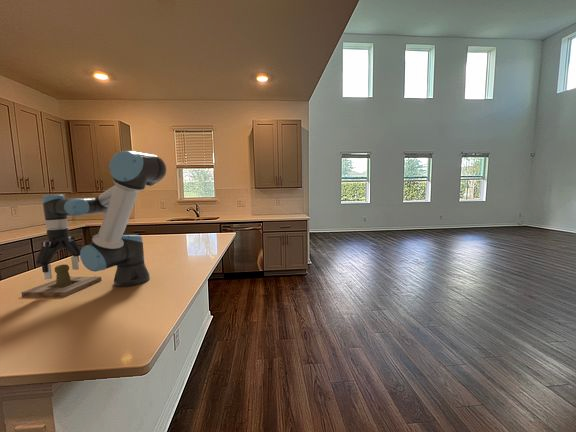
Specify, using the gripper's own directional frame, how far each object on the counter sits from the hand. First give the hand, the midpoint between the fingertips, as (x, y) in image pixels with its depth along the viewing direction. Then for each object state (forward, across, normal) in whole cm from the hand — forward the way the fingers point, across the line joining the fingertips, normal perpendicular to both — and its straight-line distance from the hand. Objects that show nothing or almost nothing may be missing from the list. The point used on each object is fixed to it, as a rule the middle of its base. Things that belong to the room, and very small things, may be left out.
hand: (63, 274), depth 122 cm
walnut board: (+7, 0, 0) cm, 7 cm away
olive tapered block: (+7, 0, 0) cm, 7 cm away
